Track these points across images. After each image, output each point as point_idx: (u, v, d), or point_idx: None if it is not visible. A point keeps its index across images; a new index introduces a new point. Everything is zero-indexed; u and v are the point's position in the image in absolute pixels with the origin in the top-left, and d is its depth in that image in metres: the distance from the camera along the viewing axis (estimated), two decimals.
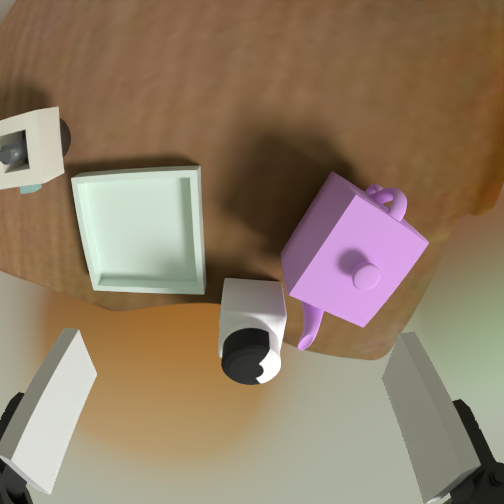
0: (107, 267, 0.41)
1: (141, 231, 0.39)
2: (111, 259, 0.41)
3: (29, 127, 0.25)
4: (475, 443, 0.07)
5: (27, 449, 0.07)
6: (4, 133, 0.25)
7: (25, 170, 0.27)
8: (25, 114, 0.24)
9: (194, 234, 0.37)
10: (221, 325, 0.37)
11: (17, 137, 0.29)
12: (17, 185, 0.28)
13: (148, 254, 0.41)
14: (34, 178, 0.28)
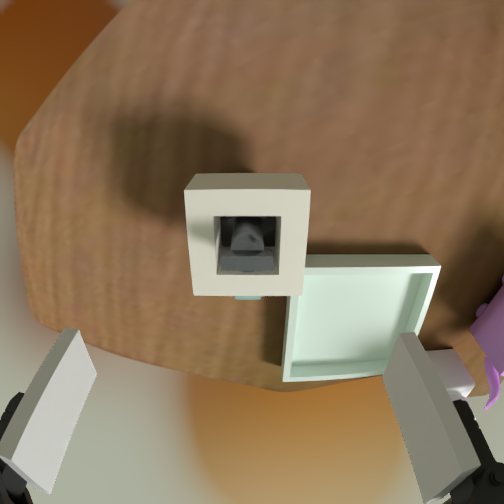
0: (299, 355, 0.37)
1: (355, 320, 0.35)
2: (308, 347, 0.36)
3: (291, 214, 0.21)
4: (475, 443, 0.07)
5: (27, 449, 0.07)
6: (227, 213, 0.21)
7: (268, 276, 0.23)
8: (284, 192, 0.20)
9: (417, 323, 0.33)
10: None
11: None
12: (244, 294, 0.23)
13: (354, 340, 0.36)
14: (284, 288, 0.23)
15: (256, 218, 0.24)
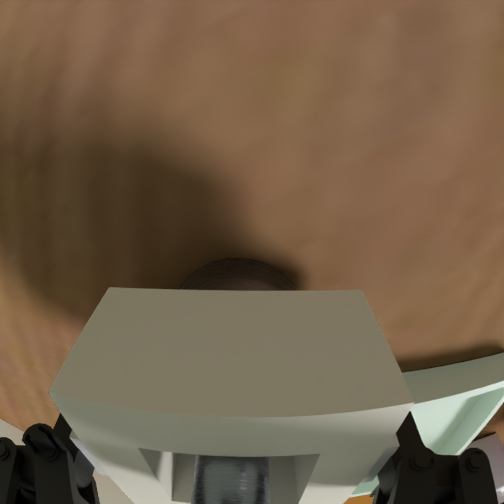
0: None
1: None
2: None
3: (346, 448, 0.06)
4: (402, 425, 0.08)
5: None
6: (173, 449, 0.06)
7: None
8: (341, 417, 0.06)
9: (472, 436, 0.18)
10: None
11: None
12: None
13: None
14: None
15: None
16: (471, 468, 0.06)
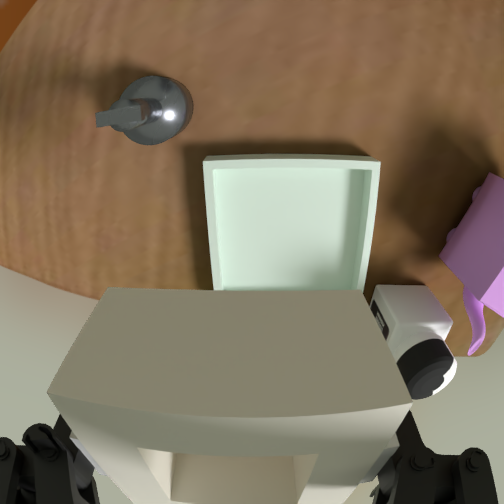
0: (234, 280, 0.35)
1: (291, 234, 0.32)
2: (242, 270, 0.34)
3: (344, 448, 0.06)
4: (402, 424, 0.08)
5: None
6: (171, 449, 0.06)
7: None
8: (339, 417, 0.06)
9: (366, 237, 0.30)
10: (393, 339, 0.30)
11: None
12: None
13: (295, 262, 0.34)
14: None
15: (150, 99, 0.22)
16: (471, 468, 0.06)
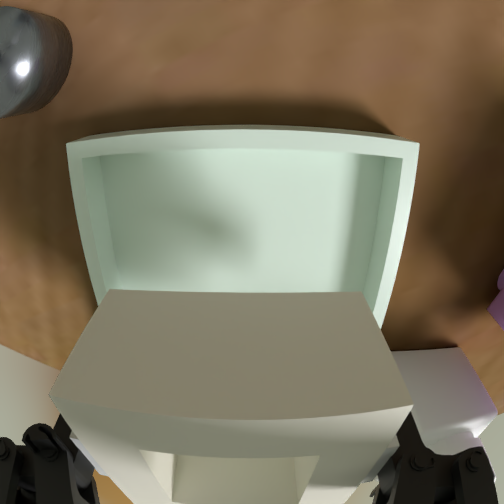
0: None
1: (242, 276, 0.18)
2: None
3: (345, 450, 0.06)
4: (402, 424, 0.08)
5: None
6: (173, 450, 0.06)
7: None
8: (340, 419, 0.06)
9: (381, 289, 0.16)
10: None
11: None
12: None
13: None
14: None
15: None
16: (471, 468, 0.06)
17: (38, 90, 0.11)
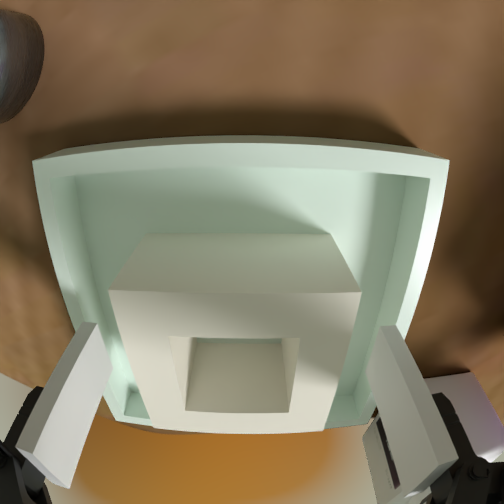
0: None
1: None
2: None
3: (318, 335, 0.10)
4: (455, 436, 0.07)
5: (48, 442, 0.07)
6: (194, 333, 0.10)
7: (271, 413, 0.12)
8: (309, 297, 0.10)
9: (398, 325, 0.13)
10: None
11: None
12: (233, 431, 0.13)
13: None
14: (297, 425, 0.13)
15: None
16: None
17: (3, 98, 0.09)
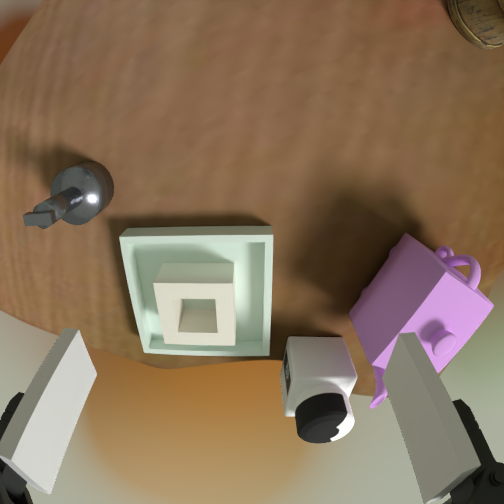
0: (158, 328, 0.39)
1: None
2: None
3: (221, 298, 0.32)
4: (475, 443, 0.07)
5: (27, 449, 0.07)
6: (181, 297, 0.32)
7: (211, 333, 0.34)
8: (215, 285, 0.31)
9: (265, 300, 0.35)
10: (293, 389, 0.34)
11: None
12: (197, 343, 0.34)
13: None
14: (222, 341, 0.34)
15: (69, 192, 0.26)
16: None
17: (101, 209, 0.31)
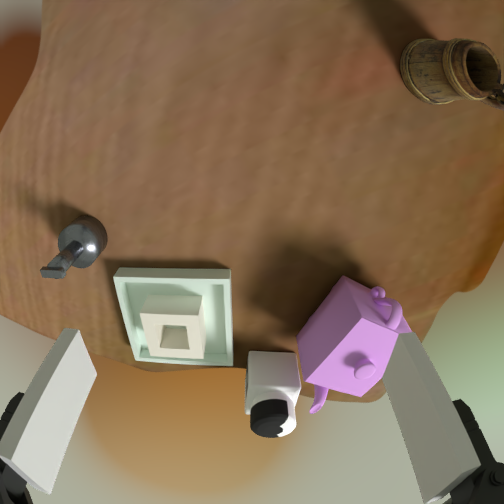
0: (146, 341, 0.48)
1: None
2: None
3: (190, 325, 0.41)
4: (475, 443, 0.07)
5: (27, 449, 0.07)
6: (160, 323, 0.41)
7: (184, 349, 0.43)
8: (185, 316, 0.40)
9: (226, 325, 0.44)
10: (249, 394, 0.44)
11: None
12: (174, 356, 0.44)
13: None
14: (193, 355, 0.44)
15: (73, 246, 0.35)
16: None
17: (98, 255, 0.40)
